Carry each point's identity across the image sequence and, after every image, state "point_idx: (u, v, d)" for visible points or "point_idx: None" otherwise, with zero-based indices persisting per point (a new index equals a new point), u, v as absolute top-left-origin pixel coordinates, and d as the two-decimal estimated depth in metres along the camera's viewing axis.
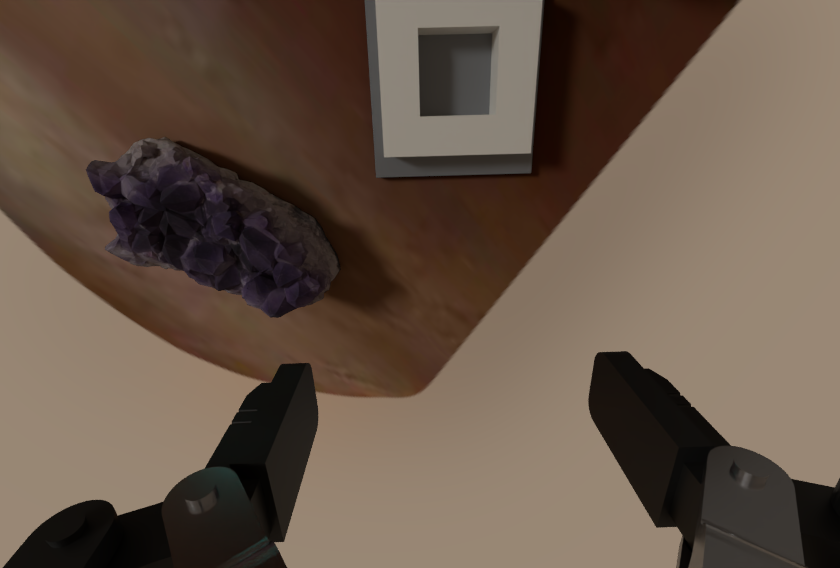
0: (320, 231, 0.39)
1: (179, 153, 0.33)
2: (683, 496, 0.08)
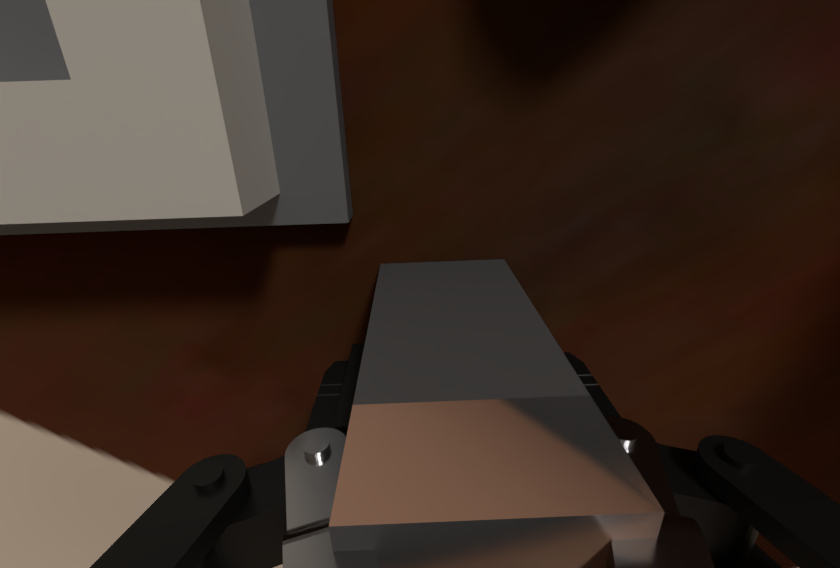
0: None
1: None
2: None
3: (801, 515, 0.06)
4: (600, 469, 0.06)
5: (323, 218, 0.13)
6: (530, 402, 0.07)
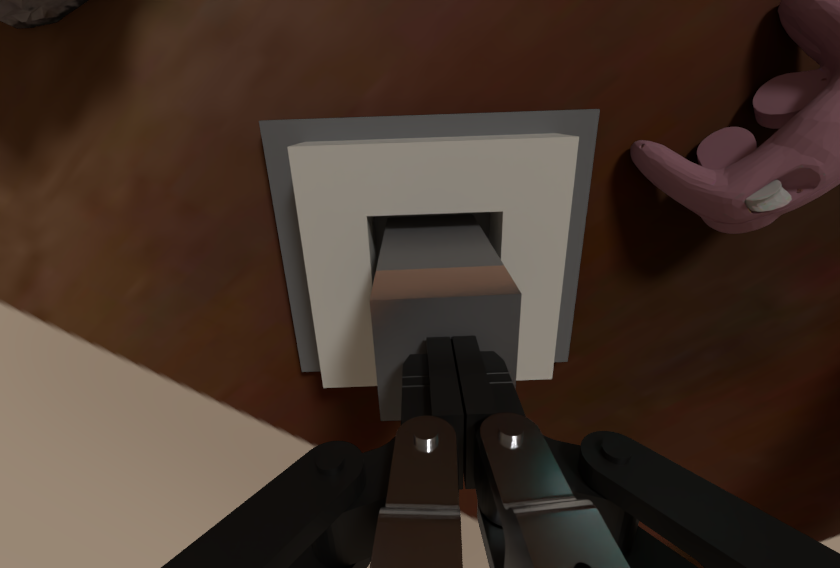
0: None
1: None
2: (475, 458, 0.09)
3: (677, 499, 0.07)
4: (498, 285, 0.12)
5: (555, 359, 0.25)
6: (471, 268, 0.14)
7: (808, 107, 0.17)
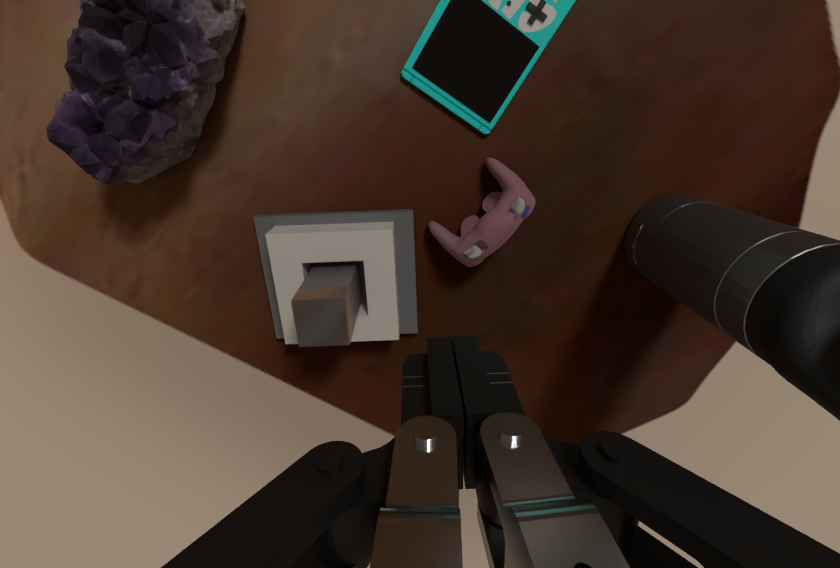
0: (177, 163, 0.39)
1: (220, 37, 0.32)
2: (475, 458, 0.09)
3: (676, 499, 0.07)
4: (339, 295, 0.34)
5: (410, 332, 0.46)
6: (335, 288, 0.36)
7: (485, 214, 0.38)
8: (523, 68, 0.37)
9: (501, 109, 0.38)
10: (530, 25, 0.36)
